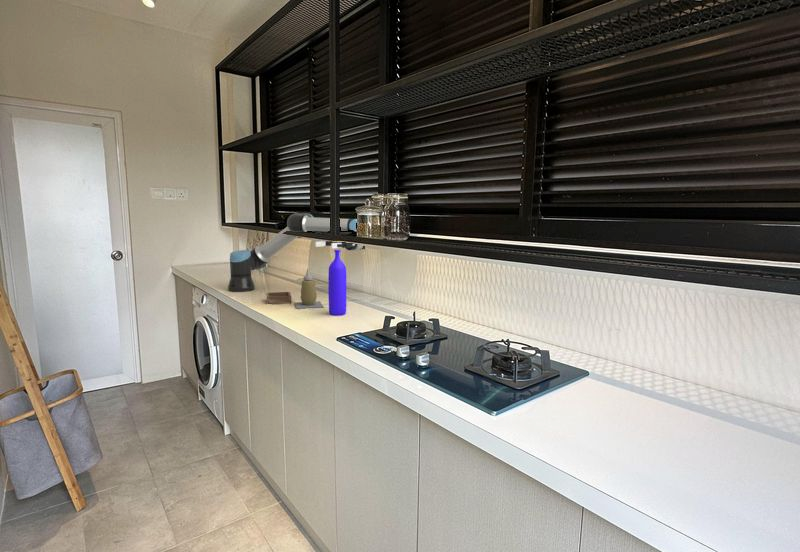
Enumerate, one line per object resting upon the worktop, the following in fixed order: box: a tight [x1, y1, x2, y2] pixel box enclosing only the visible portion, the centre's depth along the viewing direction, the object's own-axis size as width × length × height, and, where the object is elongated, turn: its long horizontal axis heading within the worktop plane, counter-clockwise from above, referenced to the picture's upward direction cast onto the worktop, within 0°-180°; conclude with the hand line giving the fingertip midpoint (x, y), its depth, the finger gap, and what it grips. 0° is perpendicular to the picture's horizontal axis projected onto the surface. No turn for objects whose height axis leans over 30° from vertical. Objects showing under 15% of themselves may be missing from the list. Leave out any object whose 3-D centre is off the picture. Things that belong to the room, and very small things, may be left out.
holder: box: [266, 291, 293, 305], centre depth 218 cm, size 12×12×4 cm
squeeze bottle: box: [300, 268, 317, 305], centre depth 209 cm, size 8×8×18 cm
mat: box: [294, 300, 324, 310], centre depth 210 cm, size 13×13×1 cm
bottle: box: [327, 249, 347, 317], centre depth 192 cm, size 8×8×30 cm
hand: (323, 245), depth 218 cm, fingers open, 13 cm apart
